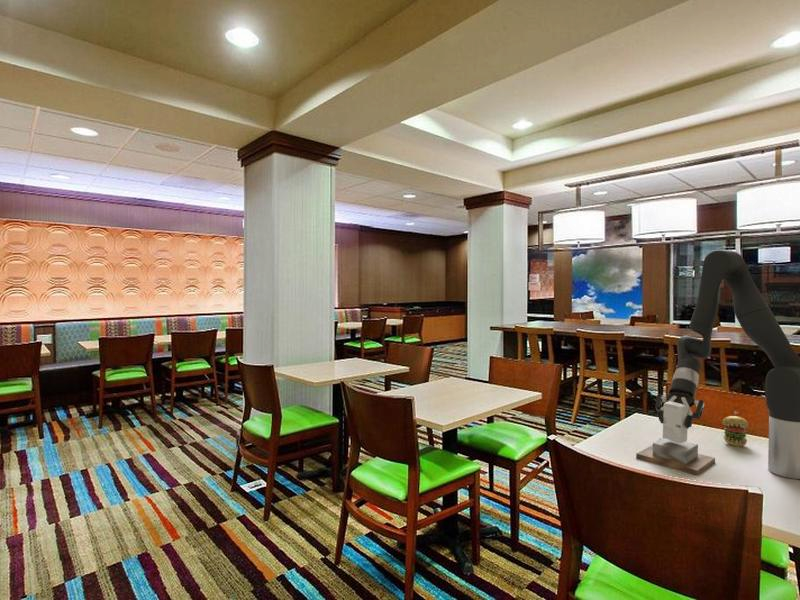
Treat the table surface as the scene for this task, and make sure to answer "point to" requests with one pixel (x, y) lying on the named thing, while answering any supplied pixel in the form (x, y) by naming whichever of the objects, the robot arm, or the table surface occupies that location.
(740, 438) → the hamburger
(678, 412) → the skincare box
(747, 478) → the table surface
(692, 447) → the display stand
